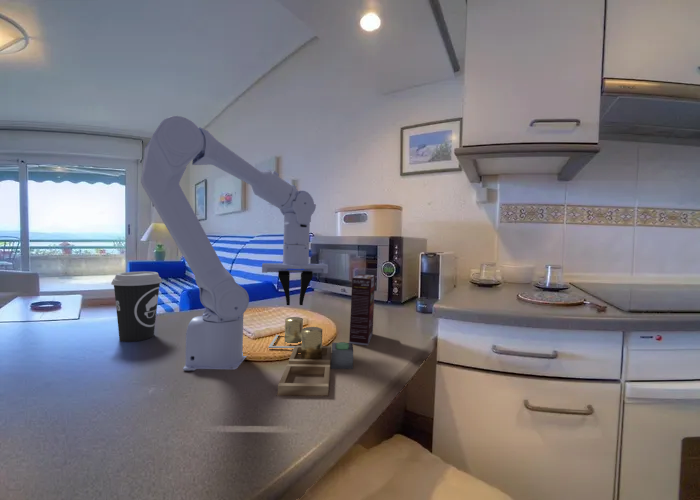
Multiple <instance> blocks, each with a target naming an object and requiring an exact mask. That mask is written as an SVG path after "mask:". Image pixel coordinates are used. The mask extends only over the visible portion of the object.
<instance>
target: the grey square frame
mask: <svg viewBox="0 0 700 500" xmlns="http://www.w3.org/2000/svg"><path fill="white" fill-rule="evenodd" d="M278 336H279V335H277V334H276V335H275V336H274V338H273V339H272V341H271V342H270V344H269V346H268V348H294V347H295V346H288V345H274V346H273V344H274V342H275V341H276V339H277V337H278ZM276 342H277V341H276ZM268 348H267V349H268Z"/></svg>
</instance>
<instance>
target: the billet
mask: <svg viewBox="0 0 700 500" xmlns="http://www.w3.org/2000/svg"><path fill="white" fill-rule="evenodd" d="M303 328H304V318H303V317H299V316H289V317H286V318H285V319H284V333H285V337H284V343H285V342H287V343H298V342H301V341H302V329H303Z"/></svg>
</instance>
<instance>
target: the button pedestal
mask: <svg viewBox="0 0 700 500" xmlns="http://www.w3.org/2000/svg"><path fill="white" fill-rule="evenodd" d="M331 343H332V345H331V353H332V357H331V370H354V367H353V366H354V345H353V344H352V343H349V342H347V343H348V344H349V349H336V344H337V343H338V342H331Z"/></svg>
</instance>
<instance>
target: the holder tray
mask: <svg viewBox="0 0 700 500" xmlns="http://www.w3.org/2000/svg"><path fill="white" fill-rule="evenodd" d="M298 353H301V345H297V346H295V347H294V349H293V350H292V352H291V354H290V356H289V359H288V363H287V364H286V365H285V369H284V371H283V373H282V375H281V377H280V380H279V383H278V385H277V393H276V397H330V390H331V388H330V387H331V376H332V375H331V374H332V369H331V357H332V345H331V346H329V345H328V346H327V345H326V346H325V345H324V346H323V345H322V360H315V359H301V354H298Z"/></svg>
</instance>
